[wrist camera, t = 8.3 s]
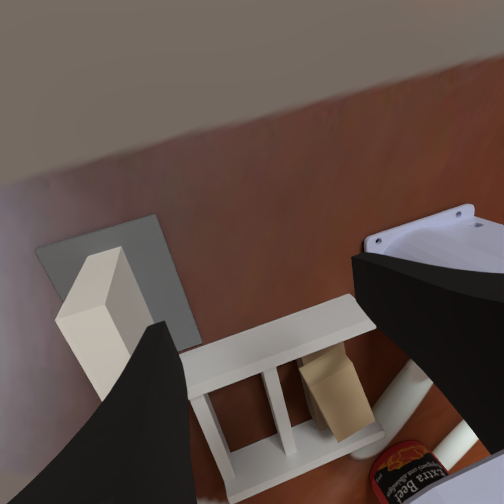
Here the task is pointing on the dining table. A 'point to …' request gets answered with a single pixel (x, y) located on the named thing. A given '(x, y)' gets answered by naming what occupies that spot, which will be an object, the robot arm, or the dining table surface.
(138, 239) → the mat
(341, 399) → the offcut top
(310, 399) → the offcut low
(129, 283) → the cream rectangular block
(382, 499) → the canned food
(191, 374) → the rack
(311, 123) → the dining table surface
